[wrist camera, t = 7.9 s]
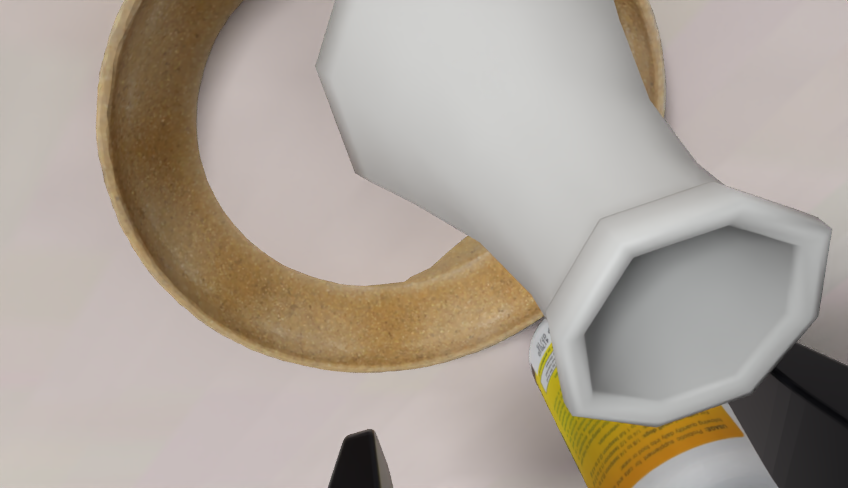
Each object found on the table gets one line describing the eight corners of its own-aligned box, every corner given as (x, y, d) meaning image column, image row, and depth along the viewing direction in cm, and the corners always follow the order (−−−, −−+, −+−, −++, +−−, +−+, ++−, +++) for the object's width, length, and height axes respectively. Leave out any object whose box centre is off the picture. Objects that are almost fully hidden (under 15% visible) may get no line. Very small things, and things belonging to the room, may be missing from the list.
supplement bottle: (496, 367, 24) (616, 648, 16) (578, 258, 22) (767, 516, 13) (601, 397, 26) (754, 655, 18) (684, 300, 24) (903, 543, 16)
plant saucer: (275, 379, 23) (275, 435, 21) (-17, -19, 14) (-68, 6, 12) (647, 228, 22) (687, 269, 20) (573, -270, 14) (628, -291, 12)
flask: (575, 189, 18) (837, 492, 9) (319, 200, 16) (362, 569, 8) (637, -99, 14) (1177, -16, 5) (308, -118, 12) (369, -46, 4)
